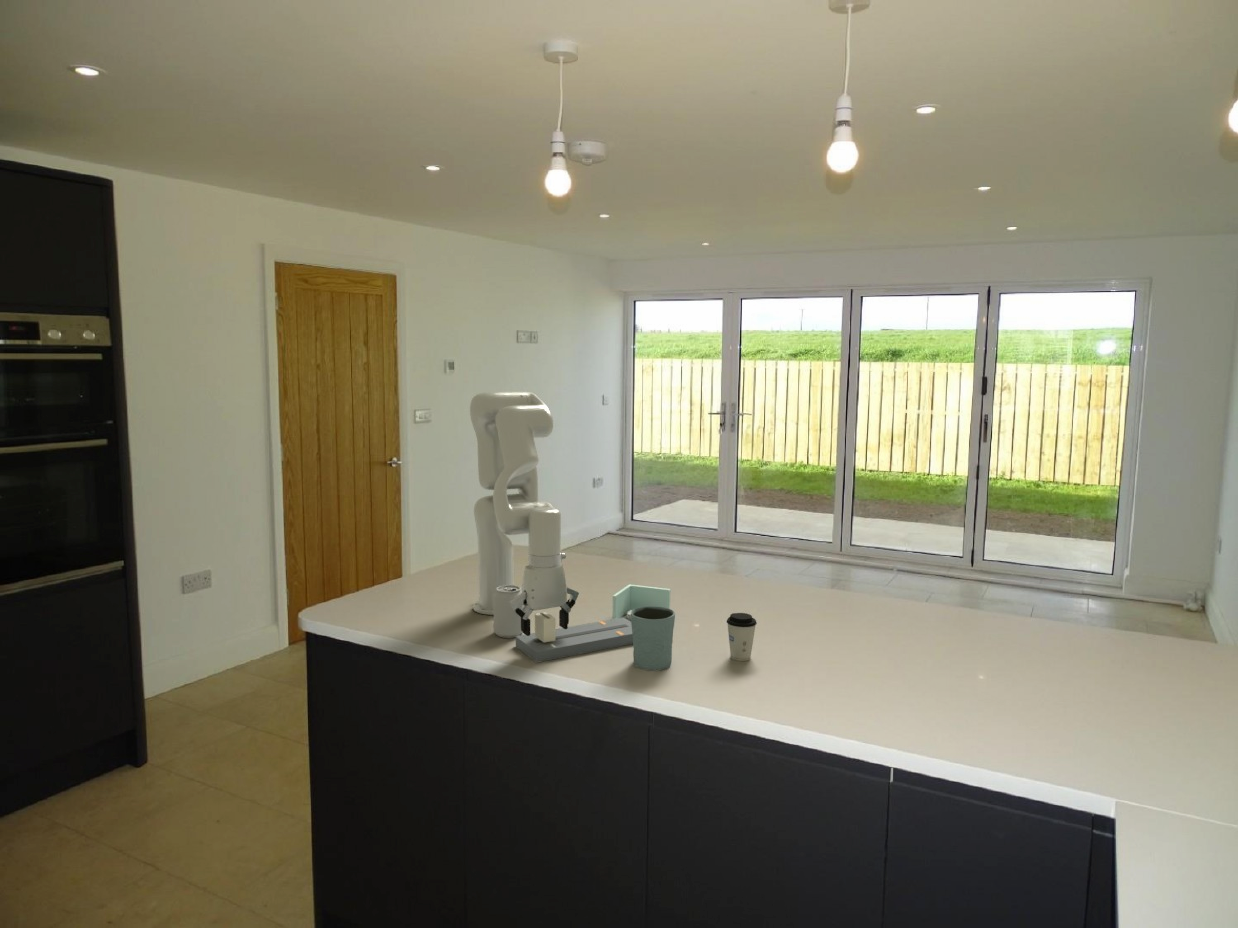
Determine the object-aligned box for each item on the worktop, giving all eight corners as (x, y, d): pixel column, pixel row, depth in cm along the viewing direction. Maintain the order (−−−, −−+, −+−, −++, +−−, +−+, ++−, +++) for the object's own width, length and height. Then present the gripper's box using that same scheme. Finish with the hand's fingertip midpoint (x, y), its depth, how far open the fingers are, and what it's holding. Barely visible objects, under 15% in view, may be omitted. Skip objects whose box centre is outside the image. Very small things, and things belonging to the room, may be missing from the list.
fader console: (515, 646, 198) (515, 635, 197) (623, 626, 213) (623, 616, 212) (536, 662, 187) (536, 651, 187) (647, 640, 202) (647, 630, 202)
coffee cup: (758, 654, 194) (759, 613, 193) (752, 664, 187) (754, 622, 186) (728, 650, 196) (729, 609, 195) (722, 660, 190) (723, 618, 188)
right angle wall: (612, 623, 217) (612, 595, 216) (629, 610, 228) (629, 584, 227) (655, 629, 213) (655, 601, 212) (670, 615, 224) (670, 589, 223)
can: (518, 640, 202) (518, 592, 200) (489, 637, 204) (488, 590, 202) (527, 630, 209) (527, 584, 208) (499, 628, 211) (499, 582, 209)
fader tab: (534, 636, 196) (534, 613, 195) (546, 634, 198) (546, 611, 197) (543, 642, 192) (543, 619, 191) (555, 640, 193) (555, 617, 193)
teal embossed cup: (643, 674, 181) (644, 621, 179) (622, 659, 190) (622, 609, 188) (682, 666, 186) (683, 615, 184) (660, 652, 195) (660, 603, 193)
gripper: (570, 552, 200) (570, 620, 202) (504, 561, 191) (504, 632, 193) (585, 559, 193) (584, 629, 196) (516, 568, 185) (517, 641, 187)
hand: (545, 630), depth 194 cm, fingers open, 9 cm apart
